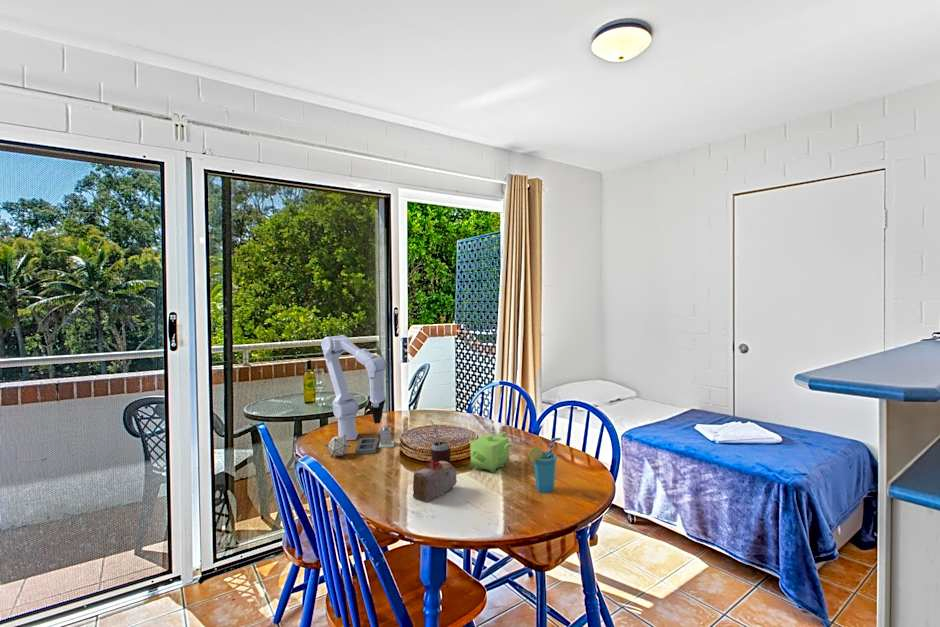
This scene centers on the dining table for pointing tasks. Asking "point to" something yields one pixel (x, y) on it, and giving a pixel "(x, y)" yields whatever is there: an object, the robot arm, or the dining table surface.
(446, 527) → the dining table surface
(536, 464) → the cup
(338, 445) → the game die
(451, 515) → the dining table surface
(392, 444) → the tray
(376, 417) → the robot arm
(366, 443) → the metal frame
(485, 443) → the green knobbed block
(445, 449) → the mate gourd
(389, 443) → the grey knob block
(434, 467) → the food item
